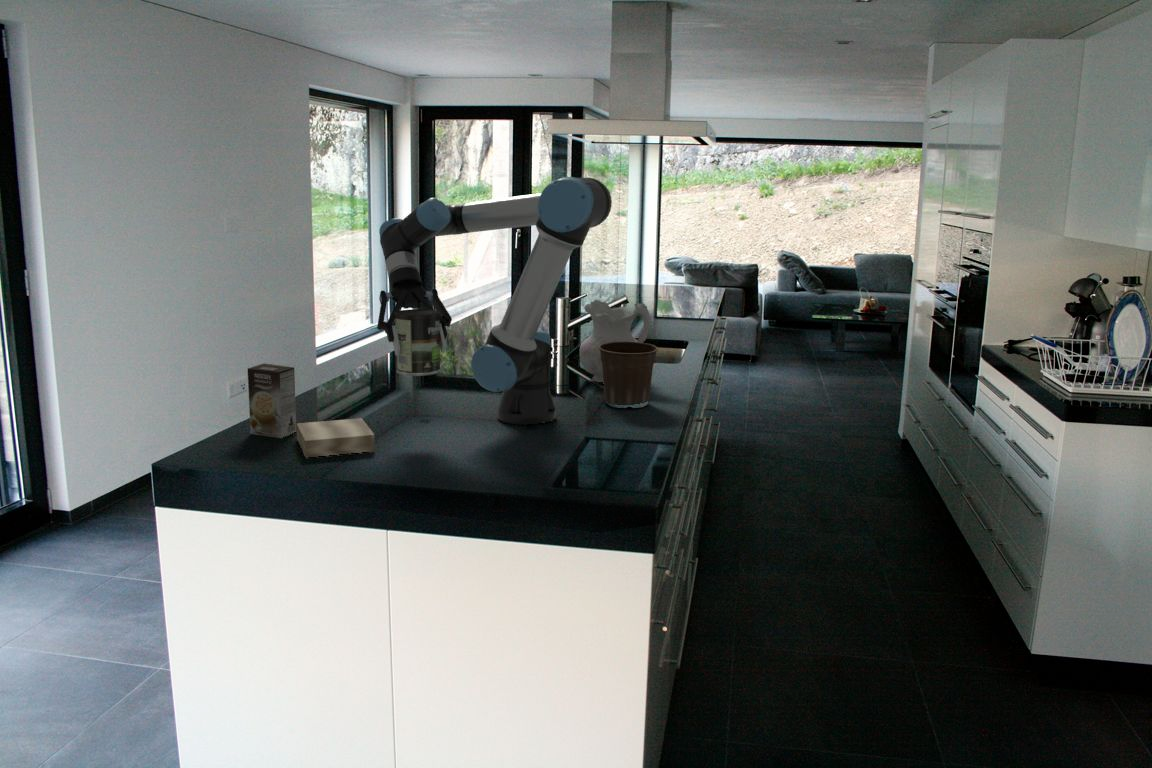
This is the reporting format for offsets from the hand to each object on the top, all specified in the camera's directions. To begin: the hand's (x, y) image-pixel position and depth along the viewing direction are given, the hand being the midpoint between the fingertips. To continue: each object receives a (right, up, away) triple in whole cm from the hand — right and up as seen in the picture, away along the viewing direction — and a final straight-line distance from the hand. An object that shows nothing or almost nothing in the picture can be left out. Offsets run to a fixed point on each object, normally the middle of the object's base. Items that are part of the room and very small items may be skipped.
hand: (421, 350), depth 218 cm
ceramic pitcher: (+47, -7, +70) cm, 85 cm away
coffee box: (-36, -20, +7) cm, 42 cm away
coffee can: (-1, -5, +4) cm, 6 cm away
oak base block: (-19, -22, -2) cm, 29 cm away
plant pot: (+49, -14, +43) cm, 67 cm away
